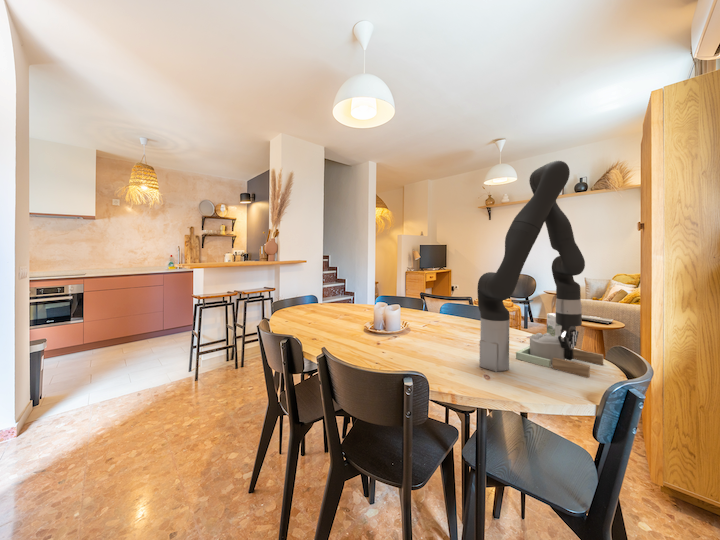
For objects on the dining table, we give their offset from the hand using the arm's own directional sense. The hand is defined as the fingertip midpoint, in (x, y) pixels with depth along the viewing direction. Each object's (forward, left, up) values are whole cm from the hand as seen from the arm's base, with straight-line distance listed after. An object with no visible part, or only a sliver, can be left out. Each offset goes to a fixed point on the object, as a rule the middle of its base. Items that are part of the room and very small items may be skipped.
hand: (569, 359), depth 103 cm
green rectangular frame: (0, +9, -2) cm, 9 cm away
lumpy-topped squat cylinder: (+1, +8, -2) cm, 8 cm away
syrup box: (+16, +9, -2) cm, 18 cm away
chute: (0, -3, -2) cm, 3 cm away
